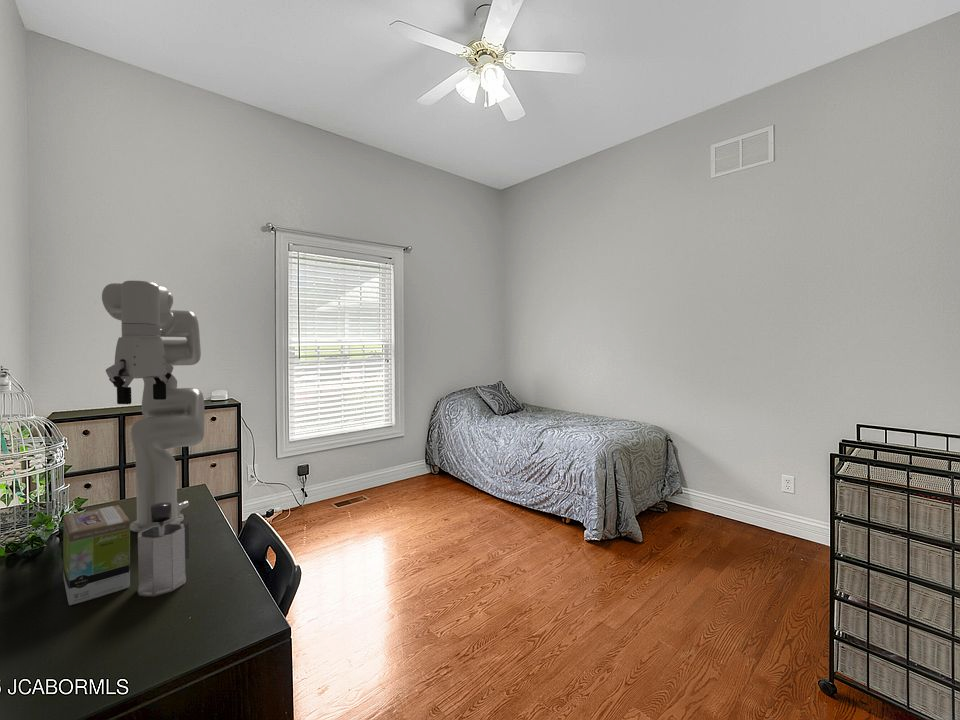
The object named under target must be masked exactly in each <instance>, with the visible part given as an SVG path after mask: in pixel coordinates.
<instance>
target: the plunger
mask: <svg viewBox="0 0 960 720" xmlns="http://www.w3.org/2000/svg"><path fill="white" fill-rule="evenodd" d="M171 518H172V509H171V503H169V502H165V503H158V504H155V505H152V506H151V522H159V536H164V535H165V531H164V521H166V520H169V519H171Z"/></svg>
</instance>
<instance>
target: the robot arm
mask: <svg viewBox="0 0 960 720" xmlns="http://www.w3.org/2000/svg"><path fill="white" fill-rule="evenodd" d="M101 301H102V304H103V307H104V309H105V311H106V312H107V313H108V314H109V316H111V318H113V319H115V320H118V321H121V337H118V339H117V342H116V346H115V354H114V364H112V365H110V366H109V367H107V368H106V369H105V373H106V374H107V376H108V381H110V383H112V384H113V387H114V388H116V403H117V405H130V404H132V386H130V385H131V383H132V382H133V380H134V379H142V380H143V390H142V397H141V414H142V415H143V416H144V417H143V418H141V419H138V420H137V421H135V422H134V423H133V424H132V426H131V430H130V435H131V436H130V437H131V441H132V445H133V451H134V457H135V486H136V487H135V488H136V520H135V521H133V522H131V523H130V532H134V533H139V532H141V531H143V530H145V529H148V528H150V527H152V526H157V525H159V522H151V506H152V505H155V504H158V503H165V502H169V503H171V509H172V518H171V519H169V520H166V521H164V524H167V523H182V522H183V521H184V518H185V517H184V516H185V515H184V514H183V513H181V512H180V511H182V510H183V509H186V508H187V507H189V506H190V502H189V501H188V500H185V501H182V502H178V489H177V488H178V483H177V482H178V481H177V480H178V479H177V478H178V477H177V476H178V475H177V474H178V473H177V462H176V459H175V457H174V456H173V455H172V454H171V453H170V452H168V451H167V449H172V448H173V449H174V448H183V447H193V446H197V445H199V444H201V443H202V441H203V439H204V435H205V399H204V398H205V397H204V394H203V392H202V391H201V390H200V389H198V388H194V387H181V388H178V380H177V378H176V377H175V376H174V375H173V374H172V373H173V370H174V366H193V365H196V364H198V363H199V361H200V360H201V354H202V351H201V340H200V338H201V337H200V336H201V335H200V334H201V333H200V325H199V321H198V318H197V316H196V314H195V313H194V312H192V311H190V310H173V309H172V308H173V306H174V297H173V294H172V293H171V292H170V290H169V289H168V288H166V287H164V286H163V285H162V286H161V285H158V284H157V283H155V282H152V281H145V280H126V281H123V282H122V283H117V282H115V283H109V284H107V285H106V286H105V287H104V288H103V289H102V292H101ZM171 309H172V310H171ZM162 337H163V338H186V339H163V338H162Z"/></svg>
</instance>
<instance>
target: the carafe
mask: <svg viewBox="0 0 960 720" xmlns="http://www.w3.org/2000/svg"><path fill="white" fill-rule="evenodd" d="M189 524H190V523H188V522H183V523H182V522H180V523H167V524H164V531H165V535H164V536H159V525H157V526H152V527H150V528H148V529H145V530H143V531H141V532H137V557H138V559H137V560H138V561H137V562H138V564H137V565H138V586H137V594H138V596H139V597H147V598H149V597H153V598H154V597H159V596H161V595H166V594H169V593H171V592H174V591H176V590H178V589H179V588H181V587H182V586H184V585H185V584H186V581H187V575H186V560H188V559H190V538H189V536H190V534H189V533H190V532H189V530H190V529H189Z"/></svg>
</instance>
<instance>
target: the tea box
mask: <svg viewBox="0 0 960 720" xmlns="http://www.w3.org/2000/svg"><path fill="white" fill-rule="evenodd" d="M62 518H63V519H62V520H63V521H62V561H63V562H62V566H63V567H62V571H63V572H62V574H63V576H62V578H63V582H64V587H65V594H66V598H67V602H68V606H72V605H76V604H80V603H85V602H87V601H90V600H94V599H97V598H100V597H103V596H107V595H109V594H112V593H113V594H114V593H116V592H119V591H123V590H125V589H128V588H130V586H131V552H130V551H131V530H130V525H131V522H130V519H129V517H128V516H127V515H126V513H125V512H124V510H123V509H122V508H121V507H120V505H119V504H118V505H111V506H106V507H105V506H104V507H102V508H101V507H100V508H96V509H91V510H86V511H81V512H75V513H71V514H66V515H63V517H62Z"/></svg>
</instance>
